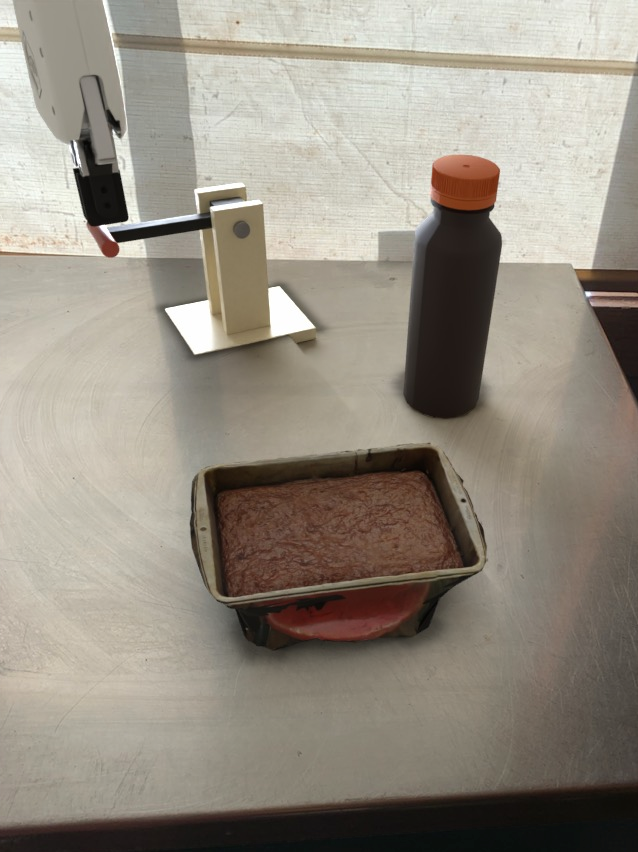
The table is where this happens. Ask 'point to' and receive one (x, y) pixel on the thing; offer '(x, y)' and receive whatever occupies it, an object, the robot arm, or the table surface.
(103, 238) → the lever
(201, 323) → the bracket
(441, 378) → the bottle
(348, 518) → the baking dish
